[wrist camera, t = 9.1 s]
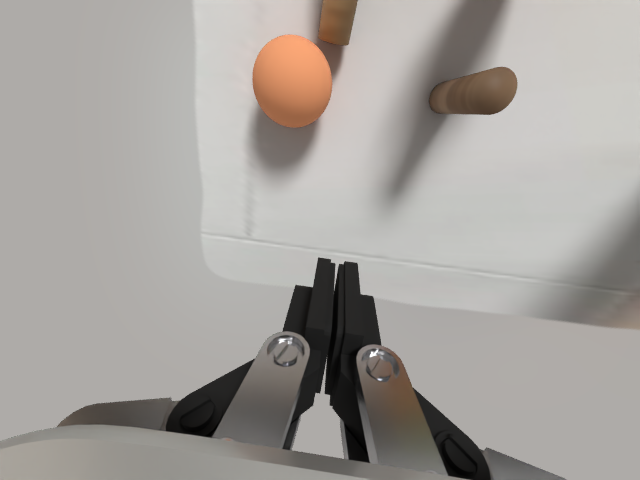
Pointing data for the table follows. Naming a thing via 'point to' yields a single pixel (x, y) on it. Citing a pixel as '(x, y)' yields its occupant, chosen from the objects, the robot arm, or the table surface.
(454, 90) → the walnut pin
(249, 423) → the robot arm
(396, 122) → the table surface
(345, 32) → the oak pin
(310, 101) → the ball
